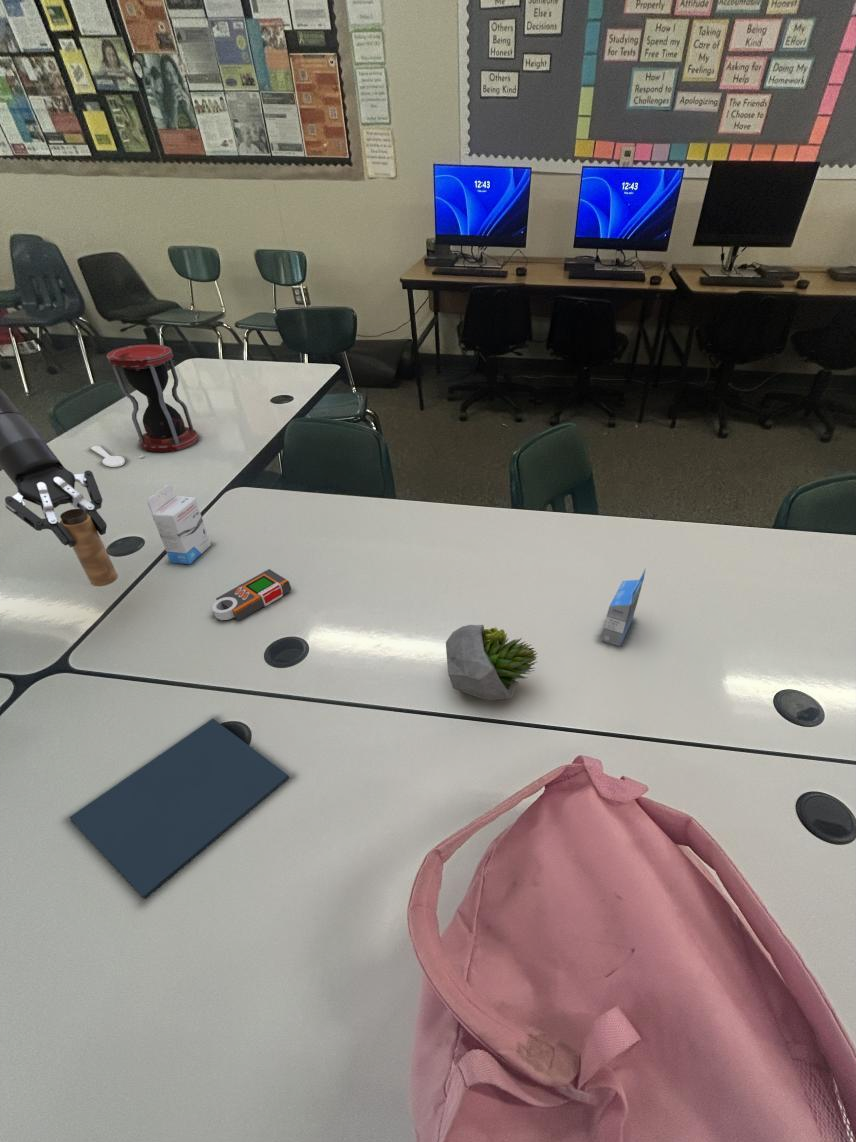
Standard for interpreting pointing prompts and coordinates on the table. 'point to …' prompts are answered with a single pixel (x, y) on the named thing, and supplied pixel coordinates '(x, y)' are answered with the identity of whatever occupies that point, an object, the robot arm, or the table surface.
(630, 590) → the label tape box
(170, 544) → the ink box
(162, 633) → the table surface
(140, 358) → the hourglass
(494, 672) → the potted plant
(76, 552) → the pepper mill
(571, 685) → the table surface
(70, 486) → the robot arm
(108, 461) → the spoon
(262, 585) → the electronic device
